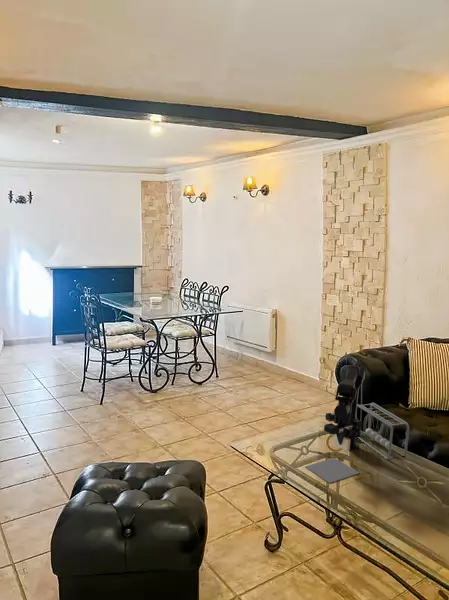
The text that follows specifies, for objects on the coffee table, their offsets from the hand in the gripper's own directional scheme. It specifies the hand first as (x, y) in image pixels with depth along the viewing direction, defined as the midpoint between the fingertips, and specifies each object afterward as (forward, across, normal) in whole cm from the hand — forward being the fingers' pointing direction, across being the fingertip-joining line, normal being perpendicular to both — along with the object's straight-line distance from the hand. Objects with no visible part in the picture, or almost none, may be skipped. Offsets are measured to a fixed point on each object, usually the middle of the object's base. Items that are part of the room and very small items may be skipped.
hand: (341, 444), depth 233 cm
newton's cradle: (+11, -34, -7) cm, 36 cm away
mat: (+12, +5, 0) cm, 13 cm away
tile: (+1, 0, 0) cm, 1 cm away
